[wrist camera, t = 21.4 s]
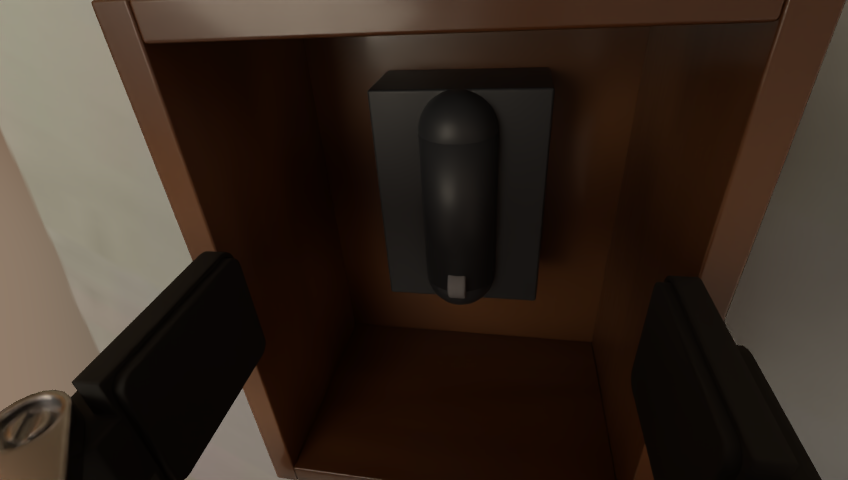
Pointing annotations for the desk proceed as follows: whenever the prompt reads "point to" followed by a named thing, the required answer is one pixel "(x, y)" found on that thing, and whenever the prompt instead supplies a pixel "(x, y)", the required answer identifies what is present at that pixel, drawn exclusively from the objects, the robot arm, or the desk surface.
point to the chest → (562, 221)
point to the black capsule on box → (463, 178)
